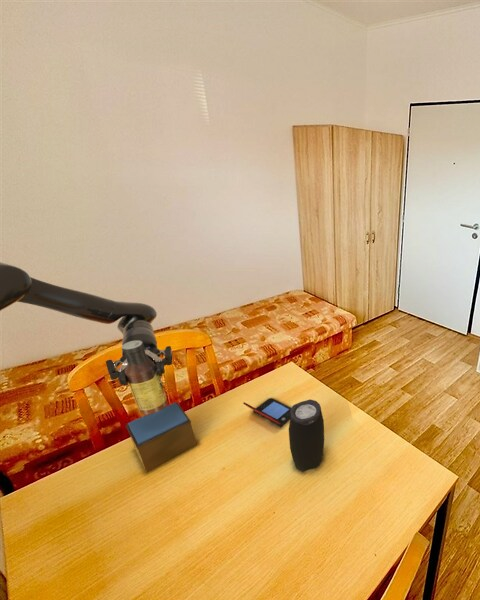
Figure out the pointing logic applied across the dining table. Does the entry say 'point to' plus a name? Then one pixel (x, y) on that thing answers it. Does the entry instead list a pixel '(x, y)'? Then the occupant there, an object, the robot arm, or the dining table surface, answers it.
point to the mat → (157, 423)
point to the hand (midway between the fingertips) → (142, 377)
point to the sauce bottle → (143, 379)
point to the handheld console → (273, 411)
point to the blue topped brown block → (165, 445)
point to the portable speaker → (306, 434)
